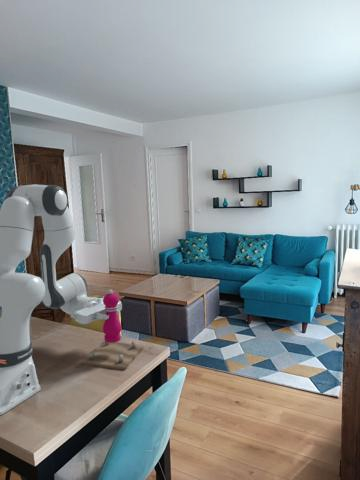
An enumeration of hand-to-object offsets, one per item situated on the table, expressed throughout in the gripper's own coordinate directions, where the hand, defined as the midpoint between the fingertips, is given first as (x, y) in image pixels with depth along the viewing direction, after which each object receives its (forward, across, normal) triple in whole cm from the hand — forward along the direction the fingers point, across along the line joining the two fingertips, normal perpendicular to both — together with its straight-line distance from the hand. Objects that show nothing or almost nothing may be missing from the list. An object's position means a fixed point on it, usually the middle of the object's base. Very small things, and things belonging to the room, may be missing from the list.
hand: (113, 315), depth 133 cm
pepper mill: (-1, 0, +10) cm, 10 cm away
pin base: (-1, 0, +17) cm, 17 cm away
